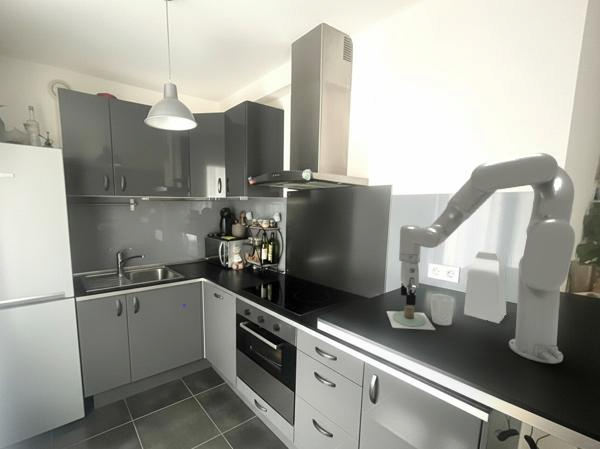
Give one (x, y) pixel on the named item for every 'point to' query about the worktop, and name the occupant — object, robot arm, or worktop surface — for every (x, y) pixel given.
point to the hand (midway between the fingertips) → (407, 299)
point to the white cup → (442, 309)
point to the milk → (486, 288)
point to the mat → (396, 325)
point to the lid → (409, 317)
